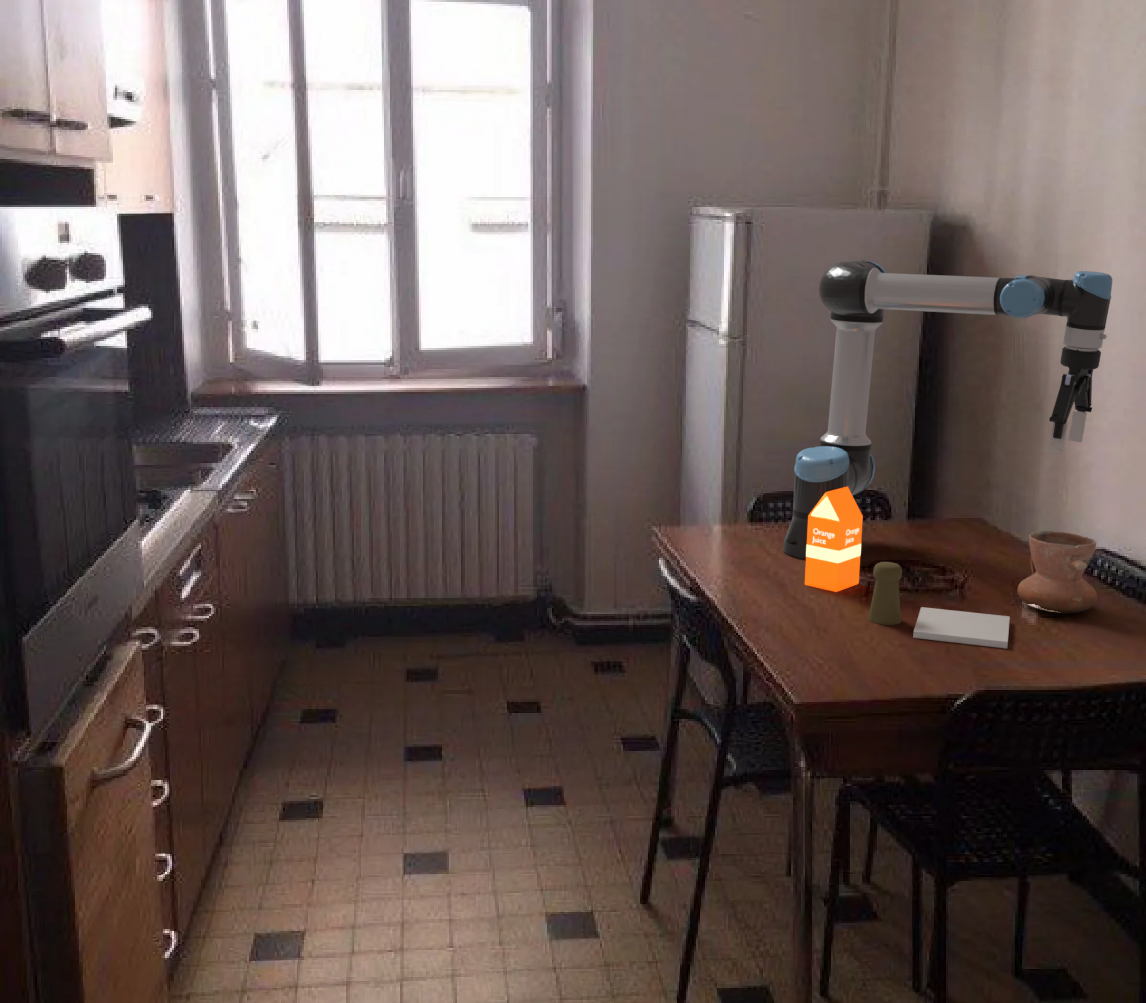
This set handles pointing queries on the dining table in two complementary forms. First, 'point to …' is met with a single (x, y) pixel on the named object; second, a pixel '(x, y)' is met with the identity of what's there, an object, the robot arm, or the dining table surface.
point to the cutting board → (962, 627)
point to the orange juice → (834, 542)
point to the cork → (886, 594)
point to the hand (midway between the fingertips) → (1065, 447)
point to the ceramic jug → (1059, 572)
